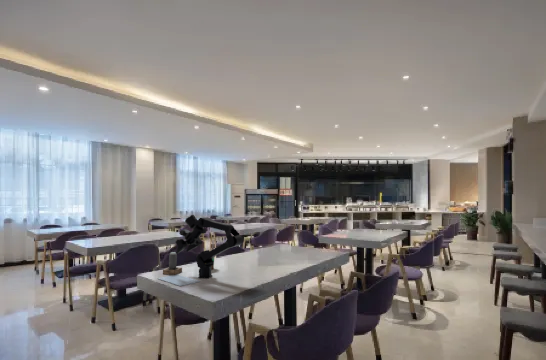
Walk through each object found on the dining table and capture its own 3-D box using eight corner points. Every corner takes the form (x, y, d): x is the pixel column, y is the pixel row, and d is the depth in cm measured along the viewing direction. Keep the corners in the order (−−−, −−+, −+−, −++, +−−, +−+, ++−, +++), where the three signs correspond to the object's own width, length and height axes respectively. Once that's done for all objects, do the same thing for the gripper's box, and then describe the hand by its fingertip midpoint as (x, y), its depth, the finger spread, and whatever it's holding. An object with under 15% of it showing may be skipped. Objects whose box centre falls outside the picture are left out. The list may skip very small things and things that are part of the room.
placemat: (200, 281, 174) (200, 281, 174) (180, 286, 165) (180, 285, 165) (176, 275, 190) (177, 274, 190) (157, 278, 181) (157, 278, 181)
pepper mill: (177, 272, 198) (178, 252, 199) (174, 273, 194) (174, 253, 195) (171, 271, 199) (171, 251, 200) (167, 273, 195) (168, 253, 196)
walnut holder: (181, 271, 200) (182, 267, 200) (175, 274, 192) (175, 270, 192) (169, 270, 201) (170, 267, 202) (162, 273, 193) (163, 269, 193)
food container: (211, 271, 201) (211, 255, 202) (202, 270, 202) (202, 255, 203) (218, 267, 213) (218, 252, 214) (209, 266, 214) (209, 252, 215)
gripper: (197, 223, 202) (184, 241, 205) (177, 225, 185) (163, 244, 189) (208, 236, 198) (194, 253, 201) (188, 239, 181) (174, 258, 184)
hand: (181, 252), depth 194 cm, fingers open, 9 cm apart
